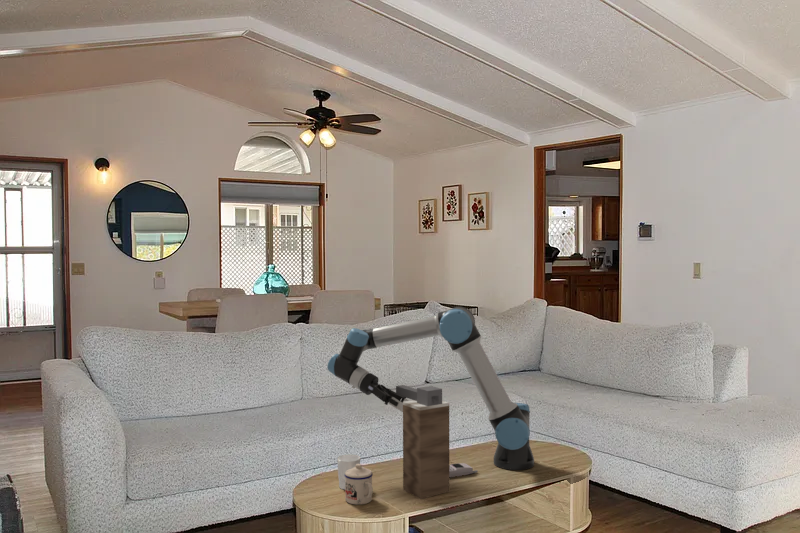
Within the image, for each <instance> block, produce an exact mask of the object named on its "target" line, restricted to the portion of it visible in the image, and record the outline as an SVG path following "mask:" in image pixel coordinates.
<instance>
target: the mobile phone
mask: <svg viewBox="0 0 800 533" xmlns="http://www.w3.org/2000/svg"><path fill="white" fill-rule="evenodd" d="M476 473H478V470H474V469H473V467H472V466H471V465H469V464H467V463H465V462H462V463H451V464H449V477H450V478H456V477H455V476H457V477H462V475H464V476H467V475H471V474H476Z"/></svg>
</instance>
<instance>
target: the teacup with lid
mask: <svg viewBox="0 0 800 533" xmlns="http://www.w3.org/2000/svg"><path fill="white" fill-rule="evenodd" d="M373 475H374V474H373V472H372V470H371V469H370V468H366V467H364V466H362V464H361V463H360V464H356V465H355V467H354V468H352V469H349V470H347V471H346V472H345V490H344V491H345V492H344V493H345V496H344V498H345V501H346V502H347V503H348V504H350V505H357V506H358V505H365V504H369V503H370V502H371V501H372V500H373Z"/></svg>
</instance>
